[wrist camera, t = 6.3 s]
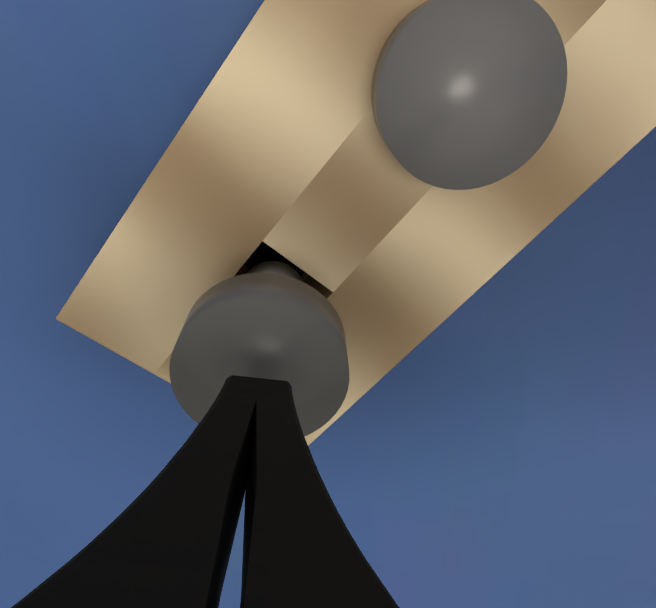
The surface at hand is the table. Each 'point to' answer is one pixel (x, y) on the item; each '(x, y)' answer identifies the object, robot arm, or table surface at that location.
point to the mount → (350, 184)
